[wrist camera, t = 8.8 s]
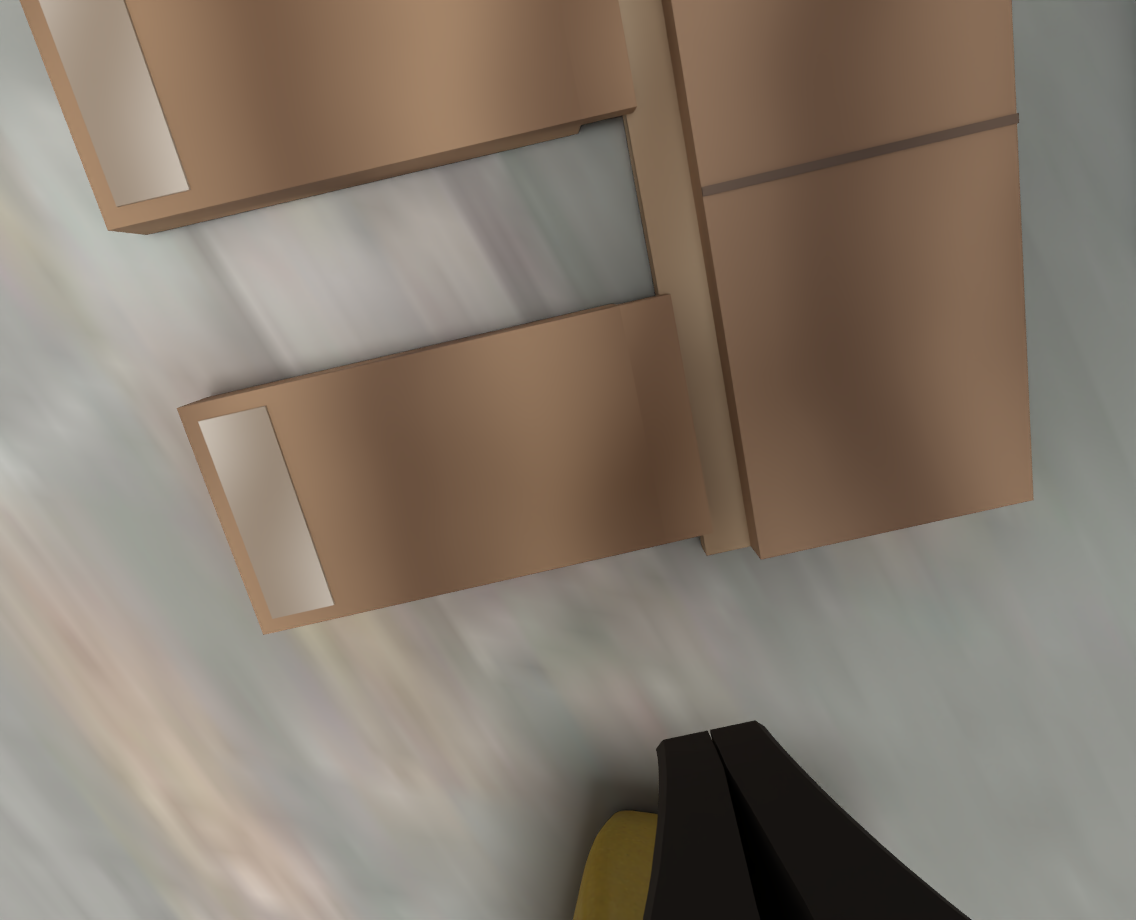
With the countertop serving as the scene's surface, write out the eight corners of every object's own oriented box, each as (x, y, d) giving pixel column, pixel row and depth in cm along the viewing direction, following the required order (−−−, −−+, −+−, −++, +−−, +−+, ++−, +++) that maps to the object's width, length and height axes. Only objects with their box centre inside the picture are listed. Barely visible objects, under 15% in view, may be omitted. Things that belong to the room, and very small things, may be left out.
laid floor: (946, -335, 14) (996, -410, 12) (995, 482, 19) (1035, 500, 17) (557, -237, 14) (558, -298, 13) (701, 546, 19) (715, 570, 17)
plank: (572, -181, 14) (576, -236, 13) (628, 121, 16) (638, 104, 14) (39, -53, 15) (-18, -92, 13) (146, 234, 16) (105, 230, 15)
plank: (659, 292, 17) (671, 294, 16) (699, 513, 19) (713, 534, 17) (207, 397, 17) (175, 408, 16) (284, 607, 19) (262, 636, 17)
